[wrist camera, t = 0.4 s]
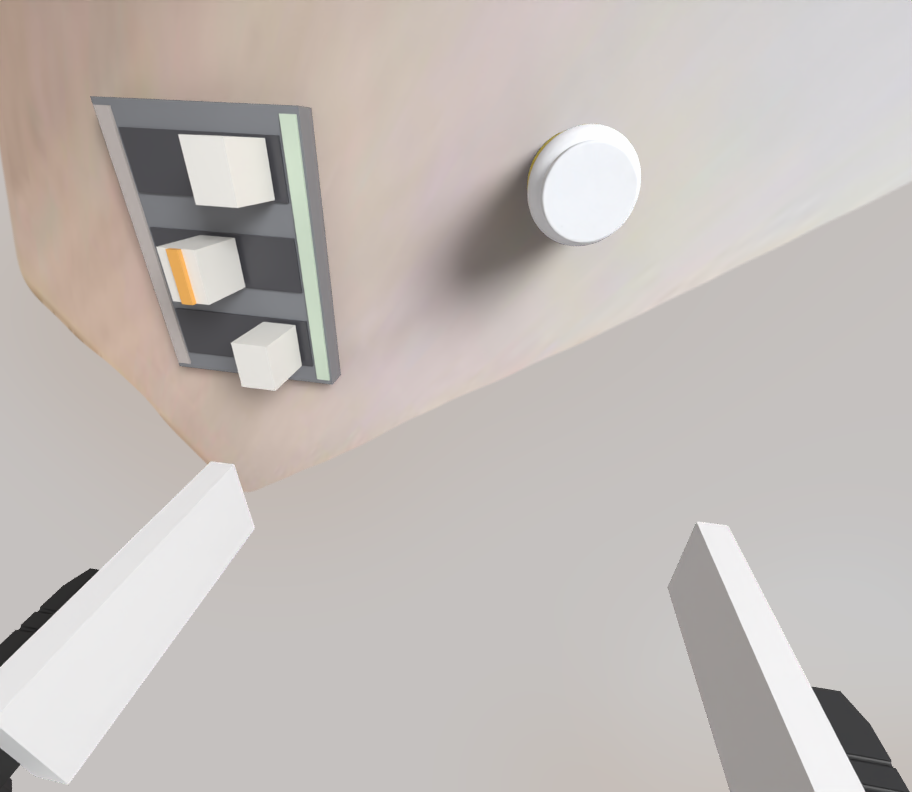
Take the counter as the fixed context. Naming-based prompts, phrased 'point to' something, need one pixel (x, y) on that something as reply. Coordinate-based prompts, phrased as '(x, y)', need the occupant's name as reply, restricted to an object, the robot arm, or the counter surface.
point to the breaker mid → (201, 269)
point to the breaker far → (267, 355)
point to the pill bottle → (583, 184)
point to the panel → (230, 225)
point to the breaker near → (227, 170)
